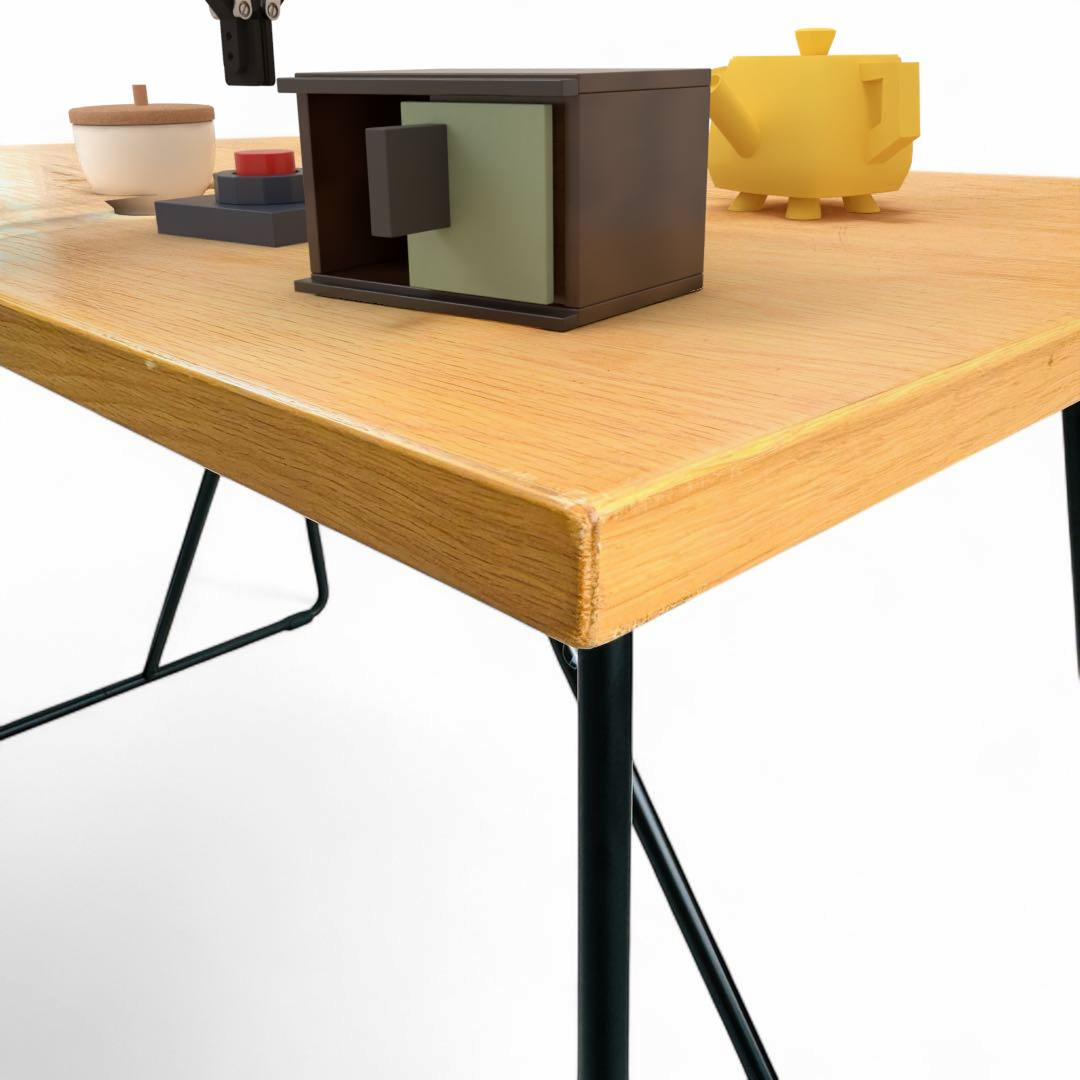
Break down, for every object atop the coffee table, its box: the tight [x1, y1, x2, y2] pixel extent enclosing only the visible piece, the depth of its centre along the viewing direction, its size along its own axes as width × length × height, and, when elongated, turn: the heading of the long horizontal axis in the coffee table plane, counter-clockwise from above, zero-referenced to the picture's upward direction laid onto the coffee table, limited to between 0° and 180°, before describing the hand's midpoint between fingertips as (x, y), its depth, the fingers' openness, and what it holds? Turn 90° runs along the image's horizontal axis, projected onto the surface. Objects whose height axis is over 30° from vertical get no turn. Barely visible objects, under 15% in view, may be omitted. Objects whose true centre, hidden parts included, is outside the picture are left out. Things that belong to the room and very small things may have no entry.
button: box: [233, 148, 297, 175], centre depth 82 cm, size 4×4×2 cm
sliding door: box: [365, 101, 554, 305], centre depth 53 cm, size 5×8×8 cm, turn 53°
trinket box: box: [68, 84, 217, 217], centre depth 94 cm, size 11×11×9 cm
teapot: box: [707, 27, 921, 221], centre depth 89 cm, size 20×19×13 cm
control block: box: [154, 167, 308, 249], centre depth 83 cm, size 12×10×4 cm
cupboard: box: [276, 67, 712, 332], centre depth 61 cm, size 12×17×11 cm
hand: (250, 85), depth 80 cm, fingers closed
